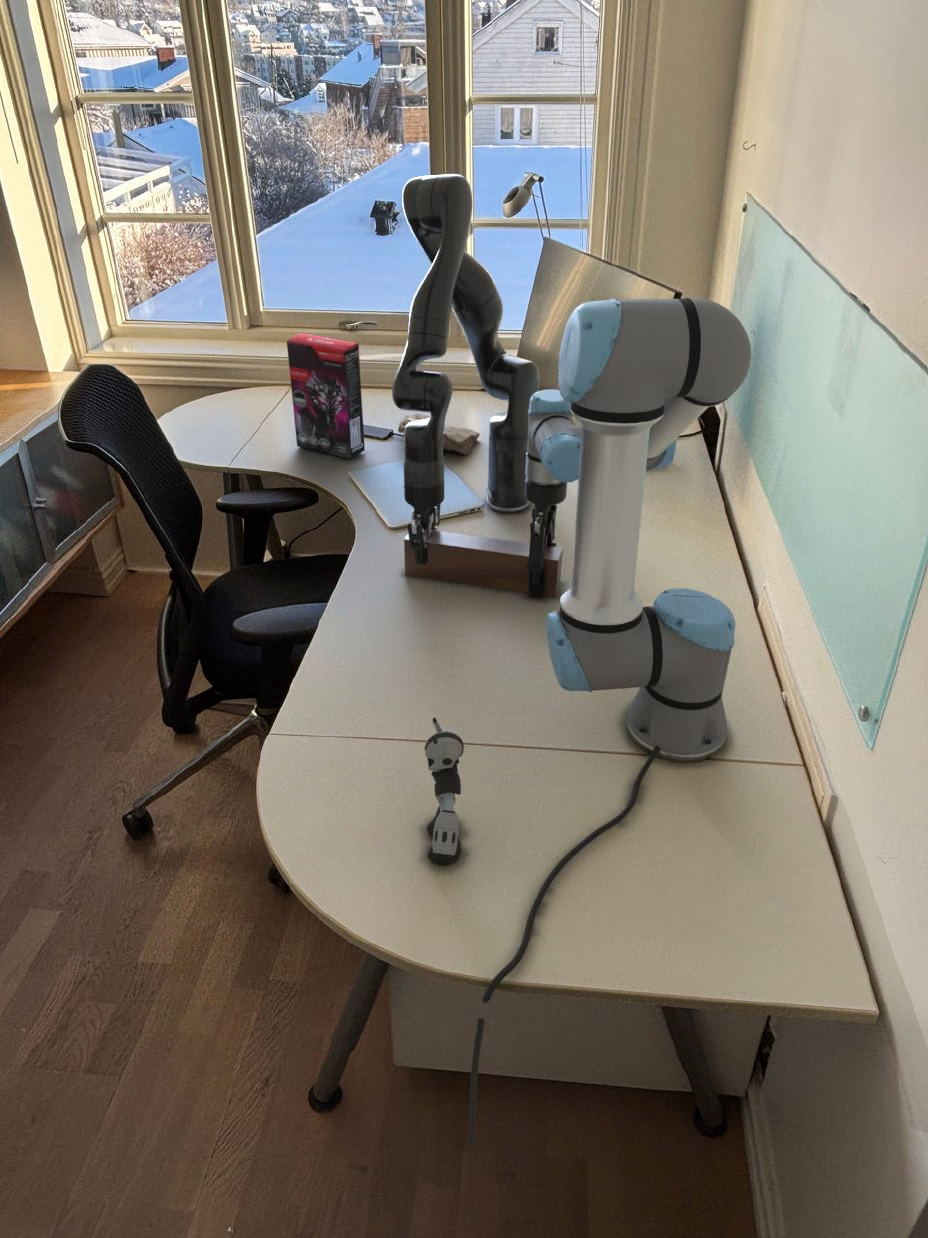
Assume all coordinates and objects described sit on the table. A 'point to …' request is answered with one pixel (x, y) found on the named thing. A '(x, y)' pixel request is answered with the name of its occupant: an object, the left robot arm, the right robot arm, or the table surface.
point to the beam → (482, 562)
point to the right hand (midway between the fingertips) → (539, 587)
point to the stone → (448, 435)
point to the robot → (444, 794)
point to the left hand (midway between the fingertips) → (425, 555)
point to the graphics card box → (326, 394)
